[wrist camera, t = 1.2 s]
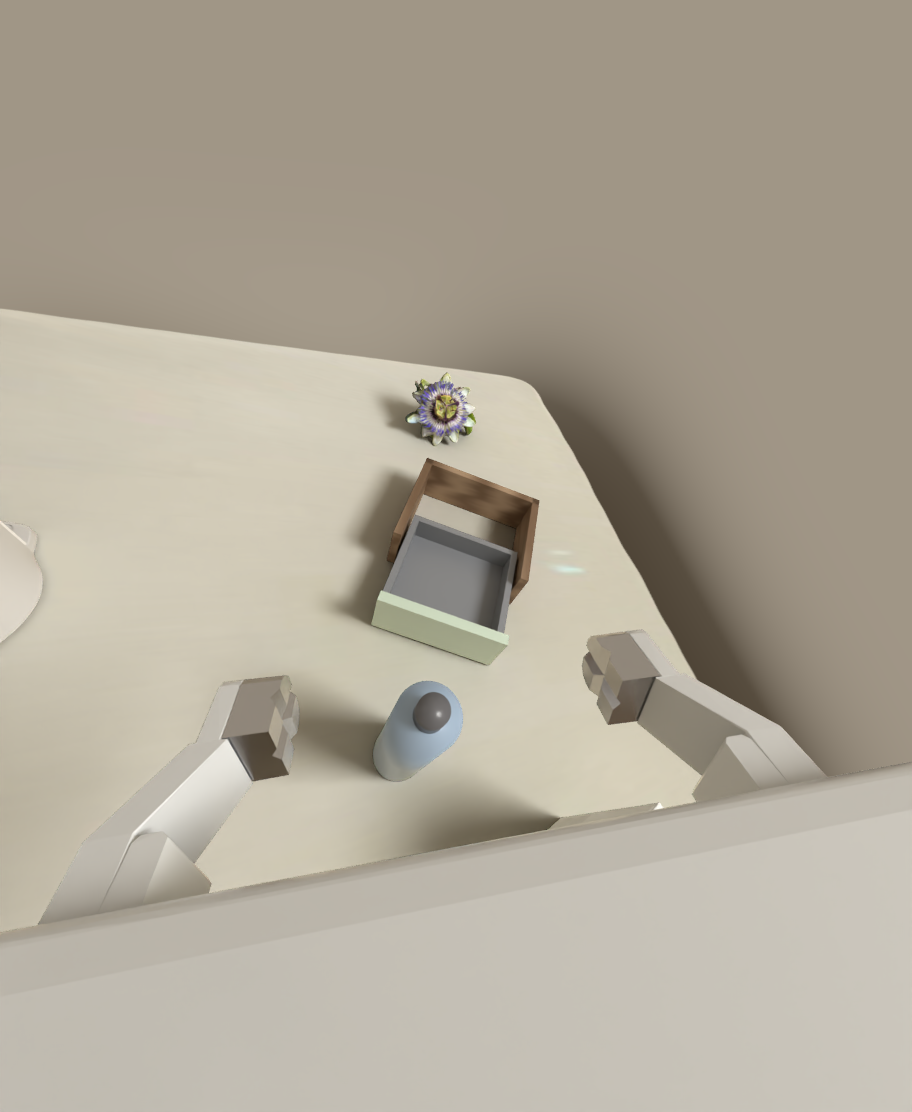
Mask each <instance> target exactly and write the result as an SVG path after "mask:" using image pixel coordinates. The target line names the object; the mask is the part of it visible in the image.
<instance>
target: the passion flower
mask: <svg viewBox="0 0 912 1112" xmlns="http://www.w3.org/2000/svg"><path fill="white" fill-rule="evenodd" d="M415 385H416V387H417V391H416V392H413V393H412V394H413V397H414V398H415V399H416V400H417V402H418V403H419V404H421V405H420V407H419V408H418V409H417V411H415V412H412V413H410V414H409V415H407V416H406V418H405V420H406V422H408V423H417V422H420V423H421V424H422V427H421V436H422V438H423V437H426V436H430V437H431V438H432V444H433V445H434V446H435V445H438V444H439V443H440V442H441V440H442V438H443V437H444V436H448V437H449V438H450V440H451V441H452V442H454V443H456V442H457V441H458V438H459V430H460V429H461V427H462V426H464V428H465V431H466V435H469V434H470V433H471V431H472V427H473V426H474V425H475V423H476V421H475V417H474V415H473V413H472V412H474V411H475V407H474V406H473V405H471V404H468V403H467V402H465V401H464V399H466V398H465V397H466V396H467V395H468V394H469V392H470V388H469V387H463V388H461V387H458V388H456V389H458V390H456V389H455V388H454V389H452V387H453V384H452V382H451V377H450V375H449V374H448V373H446V374H444V375H443V377H442V378H441V380H440V381H439V382H435V383H434V384H430V383H429V382H427V381H426V380H424V379H422V380H421V383H420V384H419V385H418V383H417V381H415ZM425 385H426V386H428V388H426V389H424V386H425ZM420 387H421V388H422V390H421V389H420ZM461 430H462V429H461ZM461 430H460V431H461ZM461 432H462V431H461Z"/></svg>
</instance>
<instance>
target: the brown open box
mask: <svg viewBox="0 0 912 1112" xmlns="http://www.w3.org/2000/svg"><path fill="white" fill-rule="evenodd" d="M423 494H425V495H428V496H430V497H433V498H436V499H438V500H441V501H444V502H446V503H449V504H452V505H454V506H457V507H460V508H462V509H465V510H468V511H470V512H473V513H476V514H478V515H481V516H484V517H486V518H489V519H492V520H494V521H497V522H500V523H502V524H505V525H508V526H510V527H513V528H516V533H515V539H514V544H513V550H512V551H515V552H518V553H517V559H516V565H515V571H514V577H513V583H512V589H511V595H510V600H509V604H511V603H512V601H513V600H514V599H515V597H516V596H517V595H518V594H519V592H520V591H521V590H522V589H523V587H524V586H525V585H526V583H527V582H528V580H529V572H530V565H531V558H532V551H533V543H534V536H535V529H536V521H537V514H538V507H539V500H537V499H534V498H531V497H529V496H526V495H524V494H521V493H518V492H516V491H513V490H510V489H508V488H505V487H503V486H500V485H497V484H495V483H492V482H489V481H487V480H484V479H482V478H479V477H476V476H474V475H471V474H468V473H466V472H463V471H461V470H458V469H455V468H453V467H450V466H447V465H445V464H442V463H440V462H437V461H434V460H432V459H429V458H427V459H426V462H425V464H424V466H423V468H422V470H421V473H420V475H419V477H418V479H417V481H416V484H415V486H414V488H413V490H412V492H411V495H410V497H409V499H408V501H407V503H406V505H405V508H404V510H403V512H402V514H401V516H400V519H399V521H398V523H397V525H396V527H395V530H394V532H393V536H392V540H391V544H390V549H389V553H388V557H387V561H390V562H393V563H394V562H395V559H396V557H397V555H398V552H399V550H400V548H401V545H402V543H403V541H404V538H405V536H406V534H407V531H408V529H409V526H410V524H411V522H412V519H413V517H414V515H415V512H416V510H417V508H418V505H419V503H420V501H421V498H422V496H423Z"/></svg>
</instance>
